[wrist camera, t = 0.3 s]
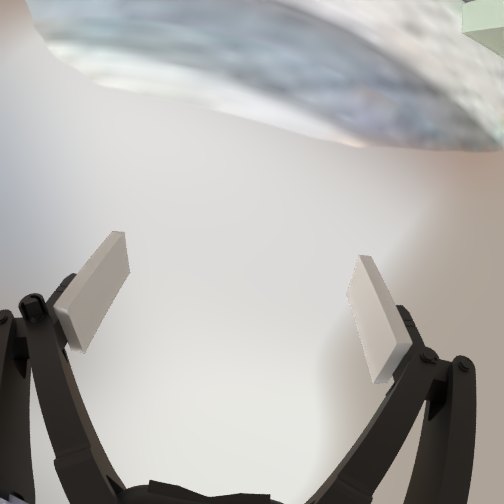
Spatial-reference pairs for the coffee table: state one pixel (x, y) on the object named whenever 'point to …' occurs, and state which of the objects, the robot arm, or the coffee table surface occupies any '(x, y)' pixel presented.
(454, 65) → the coffee table surface
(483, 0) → the sage block
